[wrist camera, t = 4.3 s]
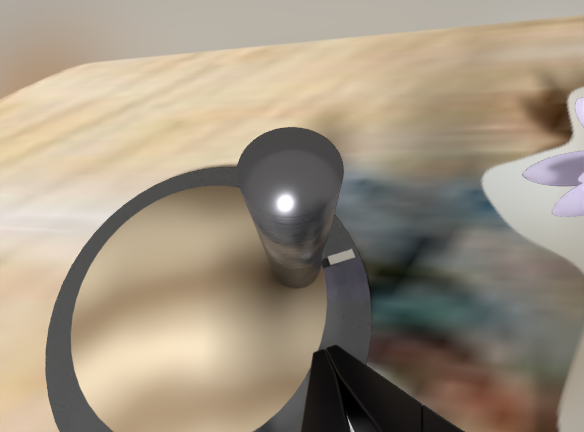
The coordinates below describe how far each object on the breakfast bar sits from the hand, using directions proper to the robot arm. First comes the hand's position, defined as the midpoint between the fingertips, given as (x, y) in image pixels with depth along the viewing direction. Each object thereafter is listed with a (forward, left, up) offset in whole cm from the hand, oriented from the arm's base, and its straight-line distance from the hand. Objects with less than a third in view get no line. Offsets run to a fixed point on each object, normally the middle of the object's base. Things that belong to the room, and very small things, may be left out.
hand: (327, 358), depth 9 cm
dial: (+3, +7, -8) cm, 11 cm away
